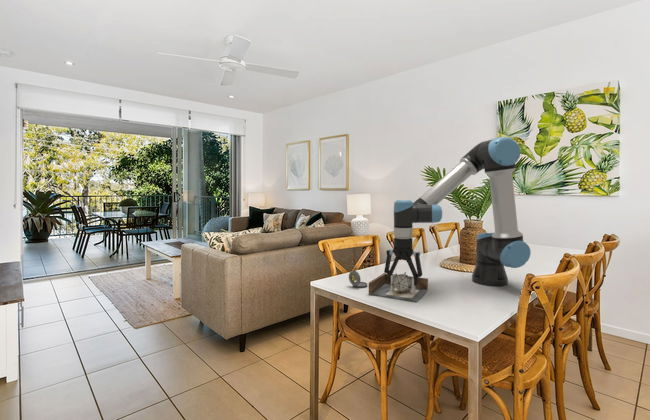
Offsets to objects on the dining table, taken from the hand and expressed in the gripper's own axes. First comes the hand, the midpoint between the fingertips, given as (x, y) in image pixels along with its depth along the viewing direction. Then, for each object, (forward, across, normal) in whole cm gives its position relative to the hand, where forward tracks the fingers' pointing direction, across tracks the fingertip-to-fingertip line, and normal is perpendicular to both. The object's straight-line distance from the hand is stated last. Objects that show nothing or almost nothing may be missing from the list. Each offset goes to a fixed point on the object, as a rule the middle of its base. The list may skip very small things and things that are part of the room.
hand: (402, 291), depth 141 cm
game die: (0, 0, 0) cm, 1 cm away
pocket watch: (+1, +21, -1) cm, 21 cm away
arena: (+1, +2, -1) cm, 3 cm away
